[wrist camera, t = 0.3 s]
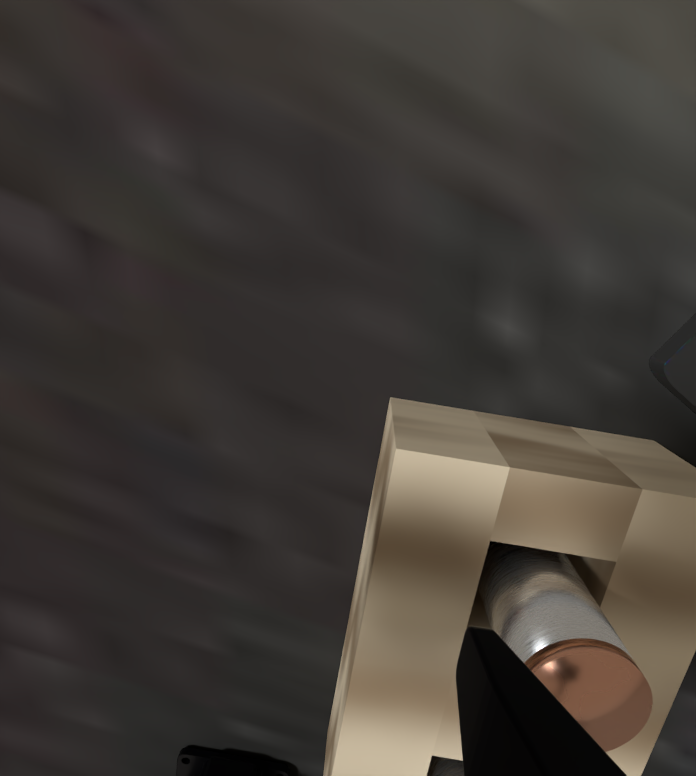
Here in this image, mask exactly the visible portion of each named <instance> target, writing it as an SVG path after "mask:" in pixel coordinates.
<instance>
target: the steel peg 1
mask: <svg viewBox="0 0 696 776" xmlns="http://www.w3.org/2000/svg"><path fill="white" fill-rule="evenodd" d="M427 776H464V769H463V761H461V760H455V759H450V758H444V757H438V756H432V757H431V761H430V765H429V768H428V772H427Z"/></svg>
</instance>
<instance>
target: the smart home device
mask: <svg viewBox="0 0 696 776" xmlns="http://www.w3.org/2000/svg"><path fill="white" fill-rule="evenodd" d="M649 366H650V369H651V371H652V373H653V375H654V376H655V377H656V378H657V380H658V381H659V382H660V383H661V384H662V385H664V386H665V387H666V388H667V389H668V390H669V391H670V392H672V393H673V394H674V395H675V396H676V397H677V398H678V399H679V400H681V401H682V402H683V403H684V404H685V405H686V406H687V407H689V408H690V409H691V410H692V411H693V412H694V413H695V414H696V313H695V314H694V315H693V316H692V317H691V318H690V319H689V320H688V321H687V322H686V323H685V324H684V325H683V326H682V327H681V328H680V329H679V330H678V331H677V332H676V333H675V334H674V335H673V336H672V337H671V338H670V339H669V340H668V341H667V342H666V343H665V344H664V345H663V346H662V347H661V348H660V349H659V350H658V351H657V352H656V353H655V354H653V355H652V356H651V358H650V359H649Z"/></svg>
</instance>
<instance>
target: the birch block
mask: <svg viewBox="0 0 696 776" xmlns="http://www.w3.org/2000/svg"><path fill="white" fill-rule="evenodd" d="M490 541H495V542H501V543H507V544H513V545H519V546H525V547H530V548H536V549H542V550H548V551H554V552H560V553H565V554H566V556H567V557H568V559H569V560H570V562H571V564H572V565H573V567H574V568H575V570H576V571H577V573H578V574H579V576H580V578H581V579H582V581H583V582H584V584H585V585H586V587H587V588H588V590H589V591H590V593H591V595H592V596H593V598H594V599H595V601H596V602H597V604H598V605H599V607H600V608H601V610H602V612H603V613H604V615H605V616H606V618H607V619H608V621H609V622H610V624H611V626H612V627H613V629H614V630H615V632H616V633H617V635H618V636H619V638H620V639H621V641H622V643H623V644H624V646H625V647H626V649H627V650H628V652H629V653H630V655H631V656H632V658H633V660H634V661H635V663H636V664H637V666H638V667H639V669H640V670H641V672H642V674H643V675H644V677H645V678H646V680H647V682H648V683H649V686H650V688H651V692H652V697H653V704H652V711H651V714H650V717H649V719H648V721H647V723H646V724H645V726H644V727H643V728H642V730H641V731H640V732H639V733H638V734H637V735H636V736H635V737H634V738H632V739H631V740H630V741H628V742H627V743H625V744H624V745H622V746H620V747H618V748H616V749H613V750H611V751H608V752H606V753H607V754H608V755H609V756H610V758H611V759H612V760H613V761H614V762H615V763H616V764H617V765H618V766H619V767H620V769H621V770H622V771H623V772H624V773H625V774H626V775H627V776H641V774H642V772H643V770H644V767H645V765H646V763H647V761H648V758H649V756H650V754H651V751H652V749H653V747H654V745H655V742H656V740H657V738H658V735H659V733H660V731H661V729H662V726H663V724H664V722H665V719H666V717H667V715H668V713H669V710H670V708H671V706H672V703H673V701H674V699H675V697H676V694H677V692H678V690H679V687H680V685H681V683H682V681H683V678H684V676H685V674H686V671H687V669H688V667H689V665H690V662H691V660H692V658H693V655H694V653H695V651H696V468H695V467H694V466H692V465H691V464H689V463H688V462H686V461H684V460H683V459H681V458H680V457H678V456H677V455H675V454H674V453H672V452H671V451H669V450H668V449H666V448H664V447H663V446H661V445H660V444H658V443H657V442H655V441H654V440H648V439H642V438H636V437H629V436H623V435H617V434H611V433H605V432H599V431H593V430H587V429H581V428H575V427H569V426H562V425H556V424H550V423H544V422H538V421H532V420H526V419H520V418H514V417H508V416H501V415H495V414H489V413H483V412H477V411H471V410H465V409H459V408H453V407H447V406H440V405H434V404H428V403H422V402H416V401H410V400H404V399H398V398H392V397H390V401H389V407H388V412H387V417H386V423H385V428H384V433H383V439H382V444H381V449H380V455H379V460H378V466H377V471H376V476H375V482H374V487H373V492H372V498H371V503H370V508H369V514H368V519H367V524H366V530H365V535H364V540H363V546H362V551H361V556H360V562H359V567H358V572H357V578H356V583H355V588H354V594H353V599H352V604H351V610H350V615H349V621H348V626H347V631H346V637H345V642H344V647H343V653H342V658H341V663H340V669H339V674H338V679H337V685H336V690H335V695H334V701H333V706H332V711H331V717H330V722H329V727H328V734H327V744H326V754H325V765H324V775H323V776H427V772H428V768H429V765H430V761H431V757H432V756H438V757H444V758H450V759H455V760H461V761H463V757H462V746H461V734H460V723H459V711H458V700H457V688H456V667H457V662H458V658H459V654H460V650H461V646H462V642H463V638H464V634H465V631H466V629H467V627H469V626H479V627H485V628H490V629H491V627H490V623H489V620H488V617H487V614H486V611H485V608H484V604H483V601H482V598H481V595H480V592H479V588H478V584H479V580H480V576H481V573H482V569H483V565H484V561H485V558H486V554H487V550H488V547H489V543H490Z"/></svg>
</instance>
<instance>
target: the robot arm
mask: <svg viewBox="0 0 696 776" xmlns="http://www.w3.org/2000/svg"><path fill="white" fill-rule="evenodd" d="M456 688H457V700H458V711H459V723H460V734H461V746H462V757H463V769H464V776H627V775H626V774H625V773H624V772H623V771H622V770H621V769H620V767H619V766H618V765H617V764H616V763H615V762H614V761H613V760H612V759H611V758H610V756H609V755H608V754H607V753H606V752H605V751H604V750H603V749H602V748H601V747H600V746H599V744H598V743H597V742H596V741H595V740H594V739H593V738H592V737H591V736H590V735H589V734H588V732H587V731H586V730H585V729H584V728H583V727H582V726H581V725H580V724H579V723H578V721H577V720H576V719H575V718H574V717H573V716H572V715H571V714H570V713H569V712H568V711H567V709H566V708H565V707H564V706H563V705H562V704H561V703H560V702H559V701H558V700H557V698H556V697H555V696H554V695H553V694H552V693H551V692H550V691H549V690H548V689H547V688H546V686H545V685H544V684H543V683H542V682H541V681H540V680H539V679H538V678H537V677H536V676H535V674H534V673H533V672H532V671H531V670H530V669H529V668H528V667H527V666H526V665H525V663H524V662H523V661H522V660H521V659H520V658H519V657H518V656H517V655H516V654H515V653H514V651H513V650H512V649H511V648H510V647H509V646H508V645H507V644H506V643H505V642H504V641H503V639H502V638H501V637H500V636H499V635H498V634H497V633H496V632H495V631H494V630H492V629H490V628H485V627H479V626H469V627H467V629H466V631H465V634H464V638H463V642H462V646H461V650H460V654H459V658H458V662H457V667H456ZM289 774H290V769H289V767H288V766H287V765H285V764H281V763H275V762H270V761H264V760H258V759H252V758H247V757H241V756H235V755H229V754H223V753H218V752H212V751H206V750H200V749H195V748H188V747H186V748H183V749H182V750H181V751H180V754H179V756H178V759H177V770H176V776H289Z"/></svg>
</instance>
